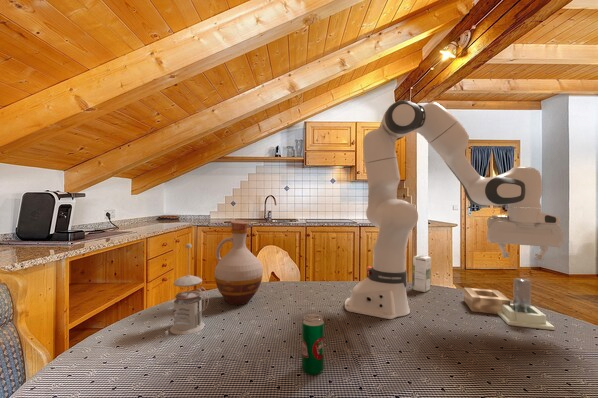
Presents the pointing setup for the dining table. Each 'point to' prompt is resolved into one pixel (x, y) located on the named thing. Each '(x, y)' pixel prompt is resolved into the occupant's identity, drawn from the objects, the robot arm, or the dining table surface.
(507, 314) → the holder
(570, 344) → the dining table surface
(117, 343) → the dining table surface
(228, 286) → the jug
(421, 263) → the syrup box
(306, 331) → the soda can
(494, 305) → the bored block
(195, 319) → the french press
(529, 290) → the axle
